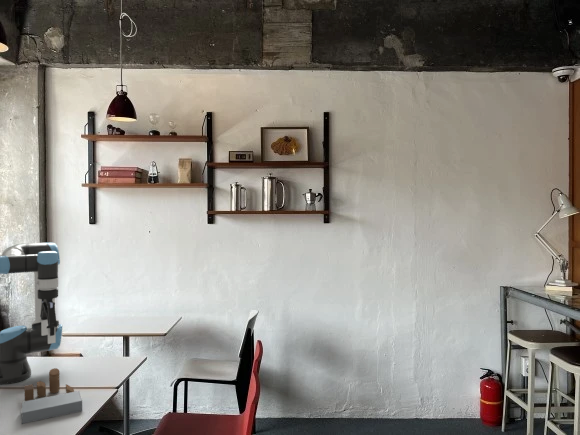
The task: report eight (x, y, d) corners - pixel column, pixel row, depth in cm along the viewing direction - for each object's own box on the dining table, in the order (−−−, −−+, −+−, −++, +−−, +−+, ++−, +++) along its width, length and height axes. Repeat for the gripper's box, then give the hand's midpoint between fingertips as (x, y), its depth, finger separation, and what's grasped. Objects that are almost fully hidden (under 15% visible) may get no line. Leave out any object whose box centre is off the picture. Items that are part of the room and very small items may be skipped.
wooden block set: (25, 408, 177) (24, 389, 174) (24, 393, 184) (23, 374, 180) (74, 396, 187) (74, 377, 184) (71, 382, 194) (71, 364, 190)
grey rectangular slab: (22, 412, 169) (22, 401, 169) (79, 400, 179) (79, 390, 179) (21, 423, 159) (21, 412, 159) (82, 410, 170) (82, 400, 170)
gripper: (32, 284, 189) (32, 333, 189) (43, 294, 169) (43, 348, 170) (51, 283, 193) (52, 330, 194) (64, 292, 174) (65, 344, 175)
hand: (48, 339), depth 182 cm, fingers open, 13 cm apart
